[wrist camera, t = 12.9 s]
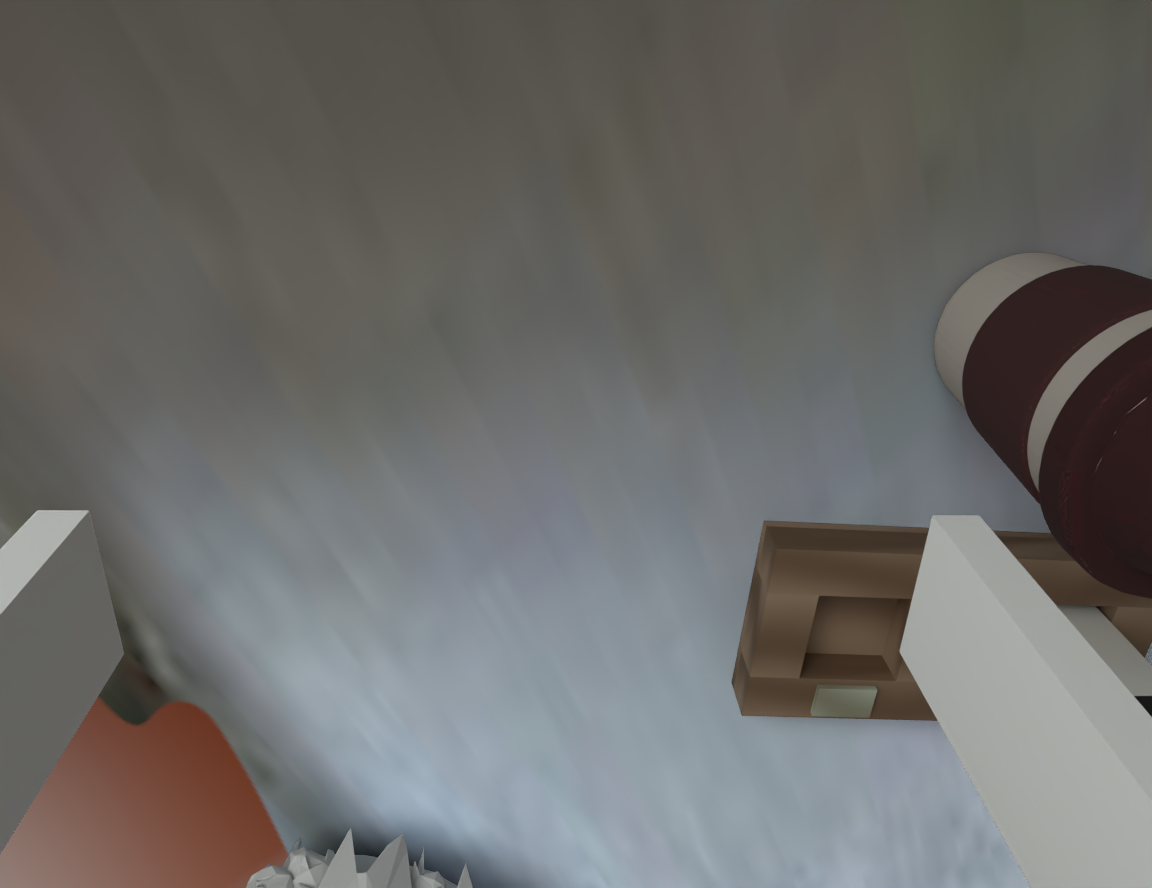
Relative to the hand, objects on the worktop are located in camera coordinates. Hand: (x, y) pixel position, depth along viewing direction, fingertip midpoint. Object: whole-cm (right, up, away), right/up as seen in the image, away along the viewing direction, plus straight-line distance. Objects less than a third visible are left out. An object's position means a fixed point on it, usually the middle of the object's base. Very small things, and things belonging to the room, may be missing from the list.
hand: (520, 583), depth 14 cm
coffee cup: (+20, +7, +26) cm, 34 cm away
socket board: (+20, -6, +32) cm, 38 cm away
